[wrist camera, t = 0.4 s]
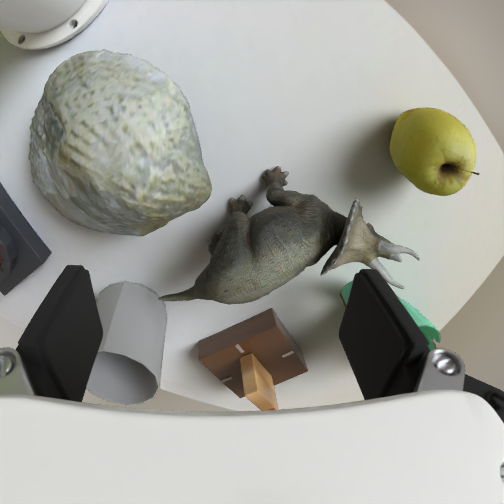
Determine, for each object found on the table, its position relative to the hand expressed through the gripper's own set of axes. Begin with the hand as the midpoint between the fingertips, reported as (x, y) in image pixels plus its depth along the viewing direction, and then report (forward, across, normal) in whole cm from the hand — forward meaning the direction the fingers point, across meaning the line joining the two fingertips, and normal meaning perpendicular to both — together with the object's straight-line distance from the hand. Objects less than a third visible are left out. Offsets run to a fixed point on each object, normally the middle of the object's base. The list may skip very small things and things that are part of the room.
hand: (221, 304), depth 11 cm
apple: (+20, -18, -4) cm, 28 cm away
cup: (+20, +10, +16) cm, 28 cm away
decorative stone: (+9, +8, -3) cm, 13 cm away
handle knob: (+17, -5, +23) cm, 29 cm away
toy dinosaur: (+20, -3, +5) cm, 21 cm away
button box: (+19, +25, +7) cm, 32 cm away
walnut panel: (+20, -5, +23) cm, 31 cm away
